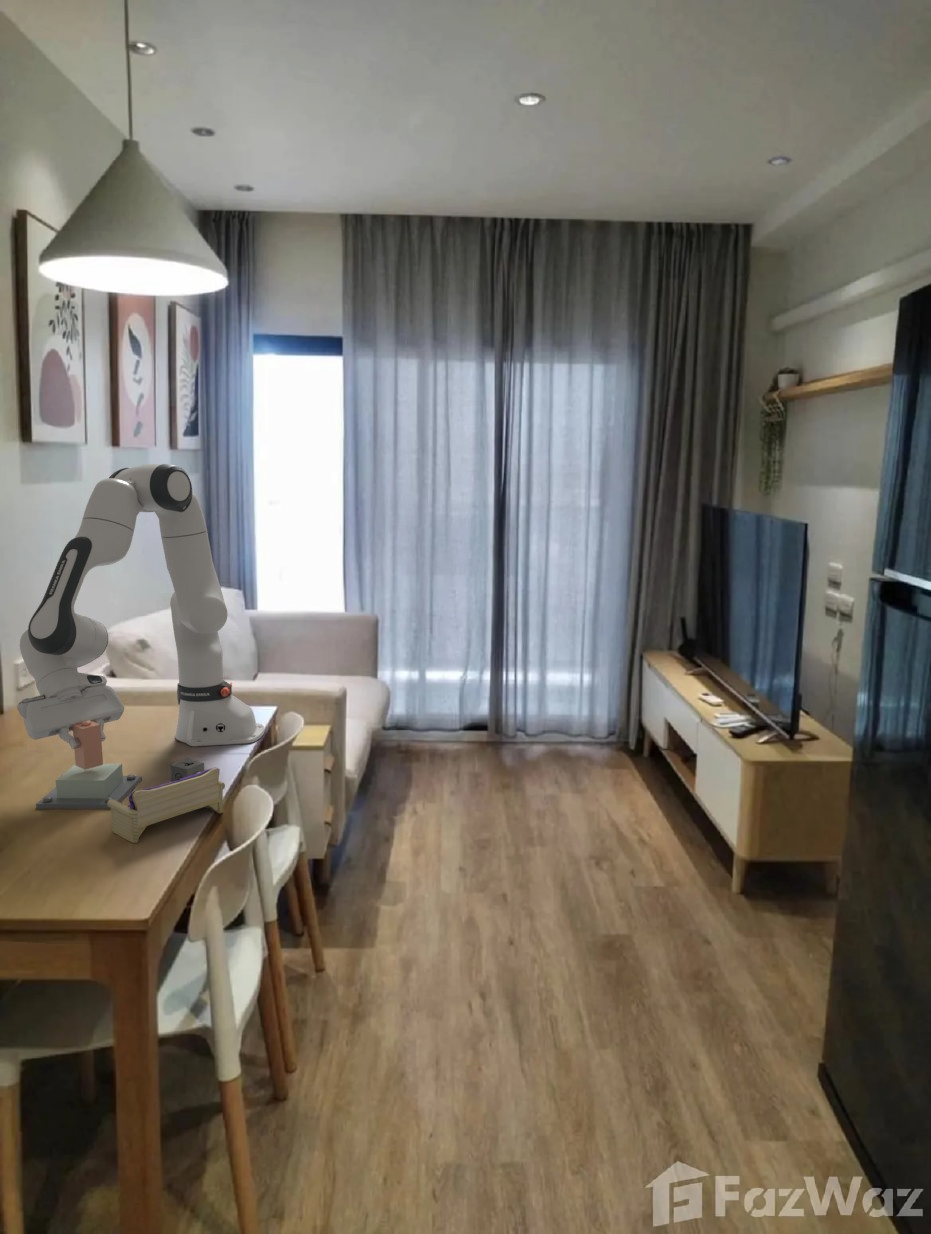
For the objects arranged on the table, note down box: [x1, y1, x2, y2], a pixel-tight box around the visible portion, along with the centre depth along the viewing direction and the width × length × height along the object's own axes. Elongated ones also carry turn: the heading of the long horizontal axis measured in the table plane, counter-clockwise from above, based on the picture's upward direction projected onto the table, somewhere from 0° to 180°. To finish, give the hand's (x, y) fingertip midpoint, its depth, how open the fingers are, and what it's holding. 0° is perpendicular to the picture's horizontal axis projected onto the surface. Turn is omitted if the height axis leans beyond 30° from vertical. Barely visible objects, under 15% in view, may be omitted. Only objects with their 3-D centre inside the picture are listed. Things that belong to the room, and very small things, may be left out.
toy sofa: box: [107, 767, 226, 844], centre depth 170 cm, size 21×9×10 cm, turn 140°
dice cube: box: [170, 758, 205, 782], centre depth 190 cm, size 5×5×5 cm
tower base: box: [35, 763, 143, 810], centre depth 184 cm, size 16×16×5 cm
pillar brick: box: [72, 721, 104, 770], centre depth 183 cm, size 4×4×10 cm
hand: (89, 743), depth 182 cm, fingers closed on pillar brick, 4 cm apart
